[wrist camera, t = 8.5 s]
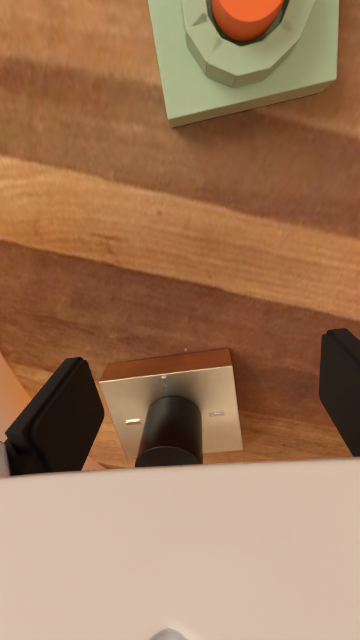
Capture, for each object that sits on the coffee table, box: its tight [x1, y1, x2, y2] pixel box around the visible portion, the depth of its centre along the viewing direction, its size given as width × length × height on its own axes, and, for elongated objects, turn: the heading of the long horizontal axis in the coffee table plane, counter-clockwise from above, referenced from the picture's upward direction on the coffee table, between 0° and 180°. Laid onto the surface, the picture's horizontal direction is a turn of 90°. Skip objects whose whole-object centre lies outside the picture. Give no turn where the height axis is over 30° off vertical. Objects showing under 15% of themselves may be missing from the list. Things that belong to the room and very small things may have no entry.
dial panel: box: [99, 348, 243, 460], centre depth 27 cm, size 12×10×3 cm
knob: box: [135, 397, 203, 468], centre depth 23 cm, size 5×5×6 cm
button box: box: [148, 0, 339, 128], centre depth 15 cm, size 10×8×4 cm
